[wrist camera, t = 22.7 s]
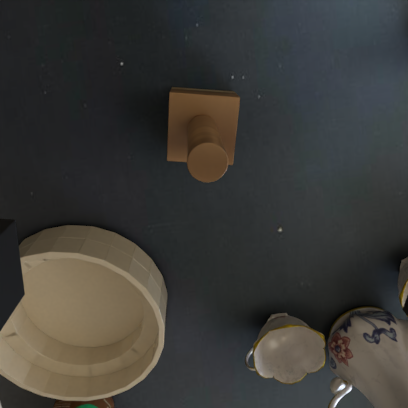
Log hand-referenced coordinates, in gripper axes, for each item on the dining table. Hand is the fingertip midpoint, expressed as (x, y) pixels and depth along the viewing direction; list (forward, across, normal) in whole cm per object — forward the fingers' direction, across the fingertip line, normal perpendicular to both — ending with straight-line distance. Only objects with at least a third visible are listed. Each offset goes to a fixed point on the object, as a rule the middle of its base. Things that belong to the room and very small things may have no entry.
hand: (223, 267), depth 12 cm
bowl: (+27, -12, -22) cm, 36 cm away
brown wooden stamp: (+27, 0, 0) cm, 27 cm away
